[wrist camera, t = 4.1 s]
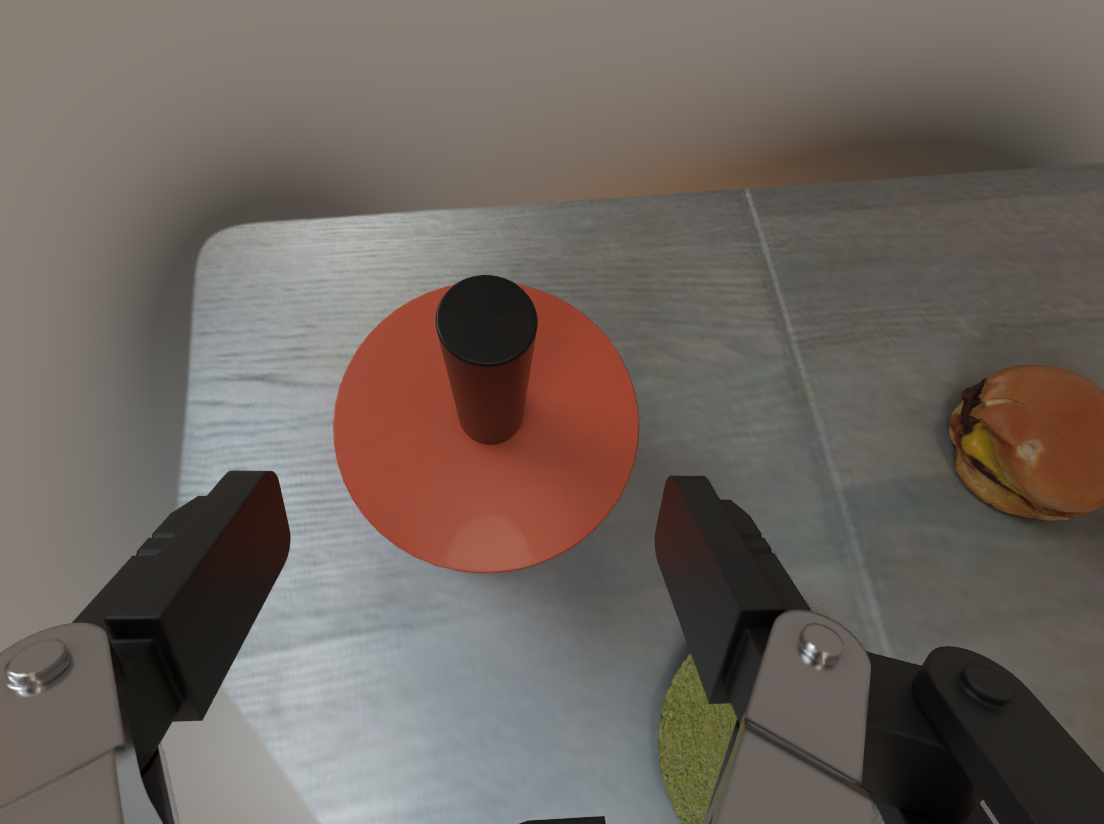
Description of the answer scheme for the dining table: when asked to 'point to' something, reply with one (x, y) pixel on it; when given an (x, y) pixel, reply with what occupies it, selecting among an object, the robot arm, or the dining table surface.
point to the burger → (1032, 442)
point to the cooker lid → (486, 426)
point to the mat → (692, 743)
